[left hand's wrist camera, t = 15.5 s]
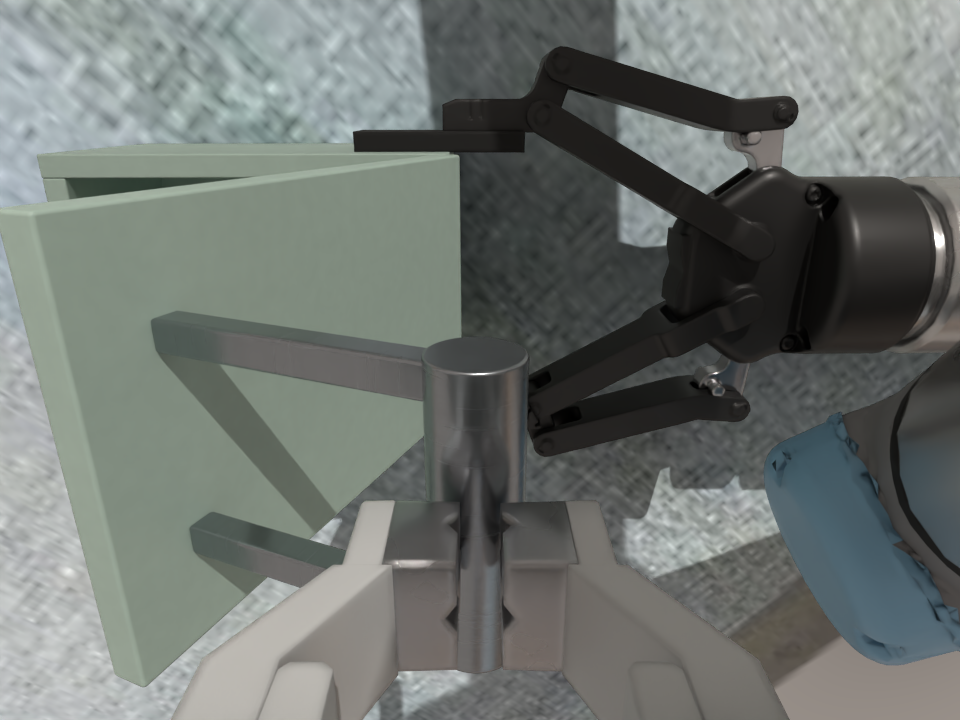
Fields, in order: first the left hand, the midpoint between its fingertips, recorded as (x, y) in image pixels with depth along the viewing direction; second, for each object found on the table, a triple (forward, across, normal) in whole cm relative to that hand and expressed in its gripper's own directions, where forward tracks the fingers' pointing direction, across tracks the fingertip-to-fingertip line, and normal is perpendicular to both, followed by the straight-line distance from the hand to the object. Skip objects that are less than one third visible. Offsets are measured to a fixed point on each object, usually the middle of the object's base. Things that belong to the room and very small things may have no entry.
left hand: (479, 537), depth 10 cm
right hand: (+19, +5, 0) cm, 20 cm away
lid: (+9, +5, 0) cm, 10 cm away
